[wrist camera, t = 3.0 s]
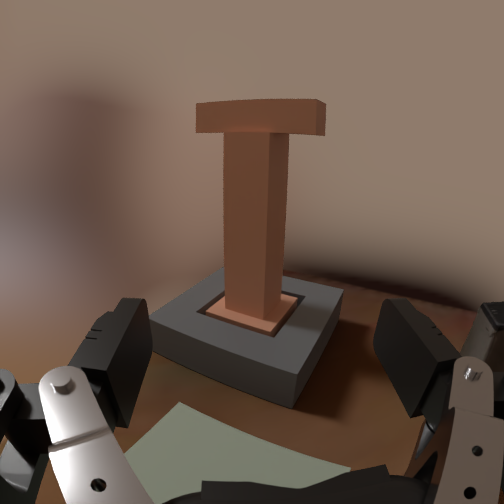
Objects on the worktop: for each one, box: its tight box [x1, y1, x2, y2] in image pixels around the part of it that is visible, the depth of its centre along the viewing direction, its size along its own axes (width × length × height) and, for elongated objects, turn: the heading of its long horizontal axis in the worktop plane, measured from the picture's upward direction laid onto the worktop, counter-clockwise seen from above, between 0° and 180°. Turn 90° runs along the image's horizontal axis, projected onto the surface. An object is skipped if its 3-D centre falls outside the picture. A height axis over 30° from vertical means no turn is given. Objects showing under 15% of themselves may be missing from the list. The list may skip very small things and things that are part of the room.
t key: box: [196, 99, 326, 338], centre depth 21 cm, size 8×5×17 cm, turn 62°
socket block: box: [149, 267, 344, 409], centre depth 23 cm, size 11×11×3 cm
